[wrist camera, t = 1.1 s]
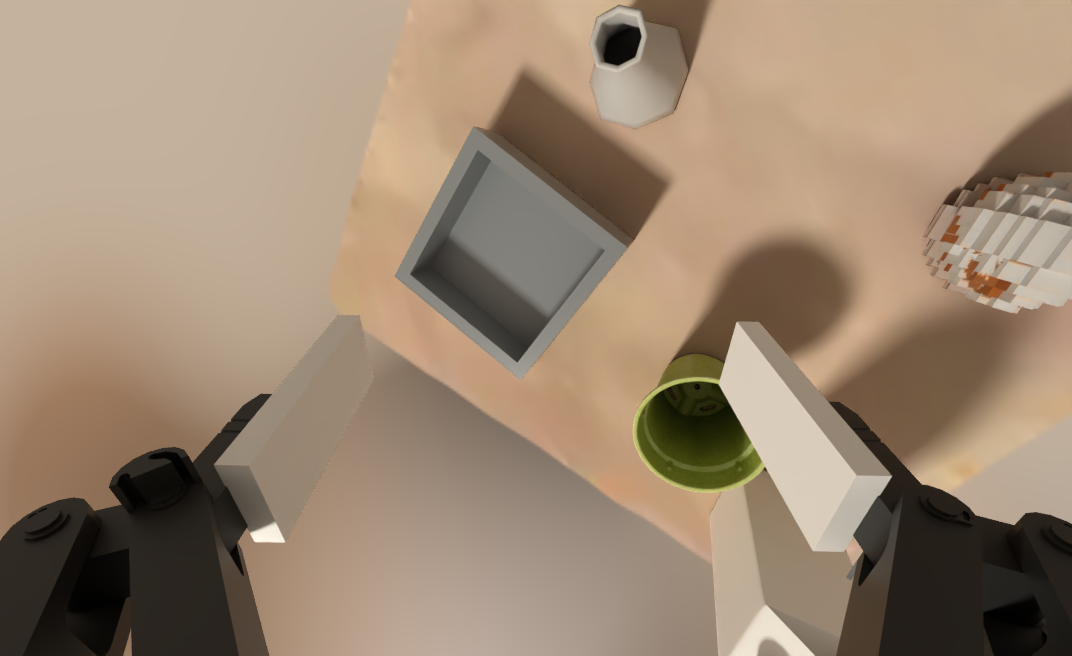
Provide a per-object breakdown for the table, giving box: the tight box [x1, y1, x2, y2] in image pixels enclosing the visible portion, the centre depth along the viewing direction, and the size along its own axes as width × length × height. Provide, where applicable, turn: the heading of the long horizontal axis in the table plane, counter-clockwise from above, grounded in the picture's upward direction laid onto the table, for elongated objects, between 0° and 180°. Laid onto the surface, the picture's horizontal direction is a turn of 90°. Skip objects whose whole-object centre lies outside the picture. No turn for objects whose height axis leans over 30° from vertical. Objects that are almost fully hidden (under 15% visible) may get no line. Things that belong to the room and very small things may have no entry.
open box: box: [395, 126, 634, 380], centre depth 38 cm, size 15×15×4 cm
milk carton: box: [710, 470, 854, 656], centre depth 31 cm, size 7×7×19 cm
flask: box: [589, 5, 689, 129], centre depth 28 cm, size 7×7×10 cm
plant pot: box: [633, 354, 765, 493], centre depth 35 cm, size 9×9×9 cm
